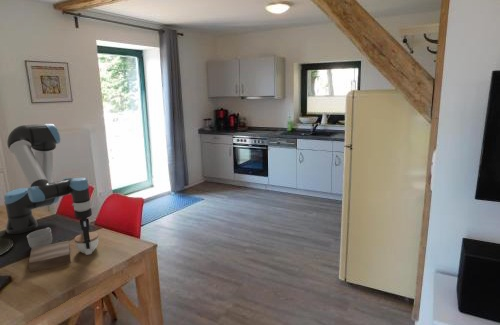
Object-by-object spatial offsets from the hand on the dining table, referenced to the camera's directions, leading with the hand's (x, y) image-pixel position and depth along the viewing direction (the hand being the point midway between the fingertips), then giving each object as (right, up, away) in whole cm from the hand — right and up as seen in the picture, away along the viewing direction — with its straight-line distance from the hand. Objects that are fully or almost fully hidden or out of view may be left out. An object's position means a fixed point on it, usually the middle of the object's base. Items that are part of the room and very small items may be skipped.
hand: (87, 248), depth 163 cm
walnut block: (-13, -4, -8) cm, 16 cm away
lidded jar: (0, -1, 0) cm, 2 cm away
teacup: (-26, 0, +6) cm, 27 cm away
